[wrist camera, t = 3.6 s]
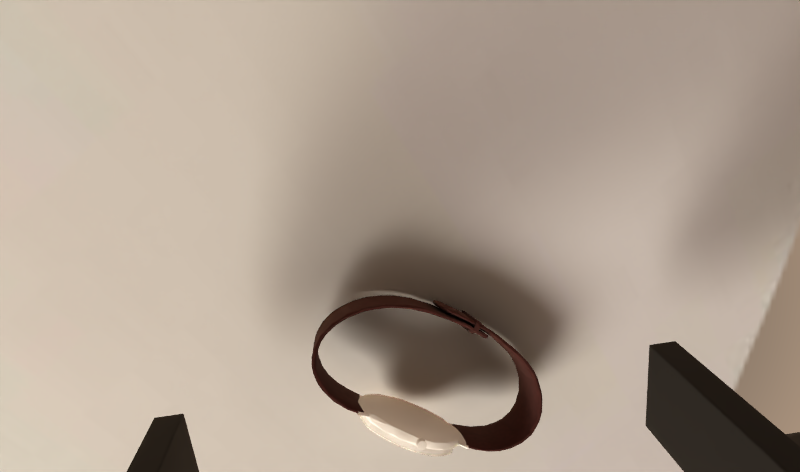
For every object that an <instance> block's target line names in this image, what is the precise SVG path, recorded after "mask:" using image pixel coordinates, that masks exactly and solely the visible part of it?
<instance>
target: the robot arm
mask: <svg viewBox="0 0 800 472" xmlns="http://www.w3.org/2000/svg"><path fill="white" fill-rule="evenodd" d="M646 426H647V428H648V429H649V430H650V431H651V432H652V434H653V435H654V436H655V437H656V439H657V440H658V441H659V442H660V443H661V445H662V446H663V447H664V448H665V449H666V451H667V452H668V453H669V454H670V455H671V457H672V458H673V459H674V460H675V461H676V463H677V464H678V465H679V466H680V467H681V469H682V470H683V471H684V472H800V432H798V433H792V434H784V433H783V432H782V431H781V430H780V429H778V428H777V427H776V426H775V425H773V424H772V423H771V422H770V421H769V420H767V419H766V418H765V417H764V416H763V415H762V414H761V413H759V412H758V411H757V410H756V409H754V408H753V407H752V406H751V405H750V404H749V403H748V402H746V401H745V400H744V399H743V398H742V397H740V396H739V395H738V394H737V393H736V392H735V391H733V390H732V389H731V388H730V387H729V386H727V385H726V384H725V383H724V382H723V381H722V380H720V379H719V378H718V377H717V376H716V375H714V374H713V373H712V372H711V371H710V370H709V369H707V368H706V367H705V366H704V365H703V364H701V363H700V362H699V361H698V360H697V359H696V358H694V357H693V356H692V355H691V354H690V353H688V352H687V351H686V350H685V349H684V348H683V347H681V346H680V345H679V344H678V343H677V342H675V341H674V342H667V343H661V344H654V345H650V347H649V368H648V389H647V409H646ZM127 472H199V470H198V466H197V462H196V459H195V455H194V451H193V447H192V444H191V440H190V436H189V433H188V429H187V425H186V421H185V418H184V414H178V415H171V416H165V417H158V418H154V420H153V422H152V424H151V426H150V428H149V430H148V432H147V434H146V435H145V437H144V439H143V441H142V443H141V445H140V447H139V449H138V451H137V453H136V455H135V457H134V459H133V461H132V463H131V465H130V466H129V468H128V470H127Z"/></svg>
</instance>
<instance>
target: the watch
mask: <svg viewBox="0 0 800 472" xmlns="http://www.w3.org/2000/svg"><path fill="white" fill-rule="evenodd" d="M433 303H434V304H435V306H434V305H431V304H428V303H425V302H422V301H418V300H415V299H412V298H406V297H400V296H371V297H365V298H361V299H357V300H354V301H352V302H350V303H347V304H345V305H343V306H341V307H340V308H338V309H336V310H335V311H333V312H332V313H331V314H330V315H329V316H328V317H327V318H326V319H325V320H324V321H323V322H322V324H321V326H320V327H319V329H318V331H317V334H316V337H315V342H314V347H313V354H312V369H313V374H314V376H315V379H316V381H317V383H318V385H319V386H320V387H321V389H322V390H323V391H324V392H325V393H326V394H327V395H328V396H329V397H330V398H331V399H332V400H333V401H334V402H335V403H337V404H339V405H341V406H342V407H344V408H346V409H347V410H350V411H353V412H356V413H357V414H358V415H360V418H361V420H362V421H363V422H364V424H365V425H366V426H367V428H368V429H369V430H371V431H373V432H374V433H376V434H377V435H379V436H381V437H382V438H384V439H386V440H387V441H389V442H391V443H393V444H395V445H397V446H399V447H402V448H405V449H407V450H410V451H413V452H416V453H419V454H423V455H428V456H444V455H448V454H451V453H452V450H453V448H454V447H456V446H457V445H459V446H462V447H464V448H466V449H468V448H472V449H475V450H482V451H501V450H506V449H510V448H512V447H514V446H516V445H519V444H521V443H522V442H524V441H525V440H526V439H527V438H528V437H529V436H531V435H532V433H533V432H534V430H535V428H536V426H537V425H538V423H539V420H540V417H541V413H542V393H541V389H540V385H539V382H538V378H537V376H536V374H535V372H534V370H533V369H532V367H531V366H530V364H529V363H528V362H527V361H526V360H525V359H524V358H523V357H522V355H521V354H520V353H519V352H518V351H517V350H516V349H514V348H513V347H512V346H511V345H509V344H508V343H507V342H506V341H504V340H503V339H502V338H501V337H500V336H498V335H497V334H495V333H494V332H493V331H491V330H490V329H488V328H487V327H485V326H484V325H482V323H481V322H479V321H478V320H476V319H475V318H473V317H472V316H471V315H469V314H467V313H466V312H465V311H463V310H462V312H461V311H459V310H457V309H455V308H452V307H450V306H448V305H446V304H444V303H442V302H439V301H437V300H433ZM436 306H437V307H436ZM438 307H439V308H438ZM381 308H406V309H413V310H418V311H423V312H427V313H430V314H433V315H436V316H439V317H442V318H445V319H447V320H450V321H452V322H455V323H457V324H459V325H461V326H462V327H463V328H465V329H466V330H467V331H469V332H471V333H472V334H473V333H476V334H478V335H480V336H481V337H483V338H487V337H488V335H490V336H491V337H492V338H493V339H494V340H496V341H497V342H498V343H499V344H500V345H501V346H502V347H503V348H504V349H505V350H506V351H507V352H508V353H509V355H510V356H511V358H512V360H513V362H514V364H515V365H516V369H517V373H518V377H519V392H518V395H517V399H516V403H515V404H514V406H513V407H512V409H511V411H510V412H509V413H508V414H507V415H506V416H505V417H503V418H502V419H500V420H499V421H497V422H495V423H492V424H489V425H485V426H473V427H469V426H462V425H455V424H449V423H447V422H446V421H445V420H444V419H443V418H441V417H439V416H437V415H435V414H434V413H432V412H430V411H428V410H426V409H424V408H422V407H419V406H417V405H415V404H412V403H410V402H407V401H405V400H403V399H399V398H394V397H390V396H385V395H381V394H369V395H364V396H361V395H359V394H357V393H355V392H353V391H351V390H349V389H347V388H345V387H344V386H342V385H341V384H339V383H338V382H337V381H335V380H334V379H333V378H332V377H331V376H330V375H328V373H327V372H326V370H325V369H324V368H323V366H322V364H321V361H320V359H319V355H318V349H319V346H320V343H321V341H322V340H323V338H324V337H325V335H326V334H327V333H328V332H329V331H330V330H331V329H332V328H333V327H335V326H336V325H337V324H339V323H340V322H342V321H344V320H345V319H347V318H349V317H351V316H354V315H356V314H359V313H361V312H365V311H369V310H374V309H381ZM479 329H481V330H482V331H484V332H486V333H487V334H488V335H487V334H485V333H484V332H482V331H481V330H479Z"/></svg>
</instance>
